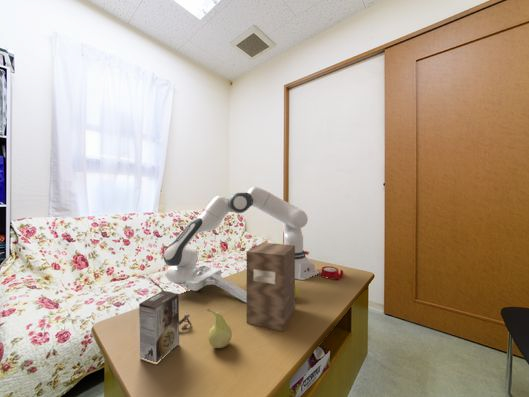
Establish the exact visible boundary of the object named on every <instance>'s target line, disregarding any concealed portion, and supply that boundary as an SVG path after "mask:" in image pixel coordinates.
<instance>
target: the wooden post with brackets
mask: <svg viewBox="0 0 529 397" xmlns="http://www.w3.org/2000/svg"><path fill="white" fill-rule="evenodd" d="M190 316H191V315H190V314H186V315H184V316H183V317H182V318H181V319H179V326H181V325H182V324H183V323H185V322H186V323H187V324H183V325H182V326H181V328H180V329H182V330H185V329H187V326H188V325H189V326H192V323H191V320H189V318H190Z"/></svg>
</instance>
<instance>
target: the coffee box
mask: <svg viewBox="0 0 529 397" xmlns="http://www.w3.org/2000/svg"><path fill="white" fill-rule="evenodd" d="M179 299H180V298H179V293H177V292H173V291H172V292H171V291H167V290H161V291H160V292H158V293H156V294H154V295H152V296H150V297H149V298H147V299H146V300H144V301H142V302H139V305H138V306H139V307H138V308H139V310H138V312H139V313H138V314H139V317H138V318H139V358H140V357H141V358H144V359H147V360H150V361H153V362H158V361H159V360H160V359H162V358H163V357H164V356H165V355H166V354H167V353H168V352H169V351H171V350H172V349H173V348H175V347H176V346H177V345H178V344H179V345H180V325H179V321H180V313H179V312H180V308H179V307H180V305H179V303H180V302H179ZM179 345H178V346H179ZM178 346H177V347H178ZM177 347H176V348H177ZM176 348H175V349H176ZM171 352H172V351H171Z"/></svg>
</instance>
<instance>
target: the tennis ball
mask: <svg viewBox="0 0 529 397" xmlns="http://www.w3.org/2000/svg"><path fill="white" fill-rule="evenodd" d="M298 292H299V289H298V287H297V285H296V284H295V299H296V298H297V296H298Z"/></svg>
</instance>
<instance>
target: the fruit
mask: <svg viewBox="0 0 529 397" xmlns="http://www.w3.org/2000/svg"><path fill="white" fill-rule="evenodd" d="M206 311H207V312H210V313H213V314H214V315H215V316H214V317H215V318H214V319H215V321H214V324H213V325H212V327H211V328H210V329H209V332H208V337H207V338H208V342H209V344H210V345H211V347H212V348H215V349H222V348H225V347H227V346H228V345H229V343H230V342H231V341H232V336H233V334H232V333H233V332H232V329H231V327H230V325H229V324H228V323H227V321H226V320H225V318H224V317H223V315H222V313H220V312H215V311H214V310H212V309H210V308H206Z"/></svg>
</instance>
